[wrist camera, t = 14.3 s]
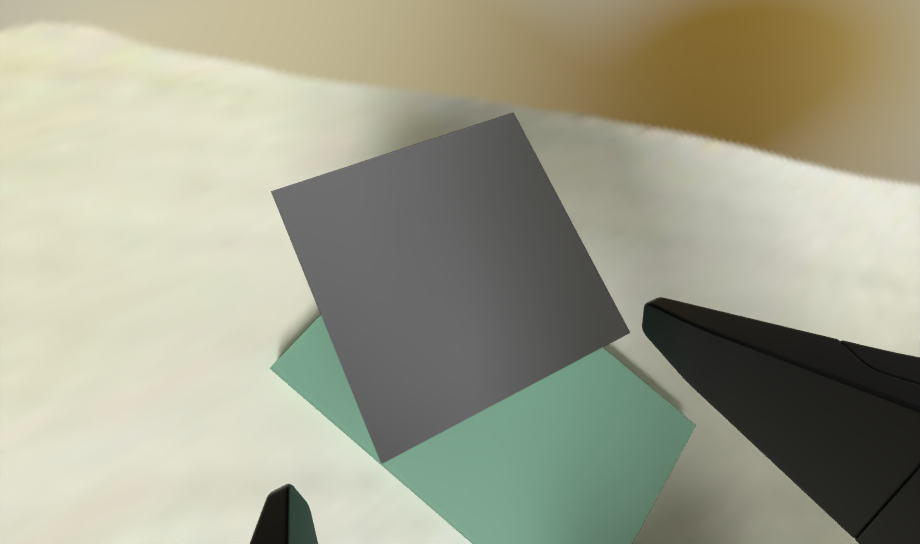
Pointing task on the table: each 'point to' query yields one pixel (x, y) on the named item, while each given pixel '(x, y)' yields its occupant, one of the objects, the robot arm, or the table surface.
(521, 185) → the block
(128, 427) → the table surface
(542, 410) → the board
